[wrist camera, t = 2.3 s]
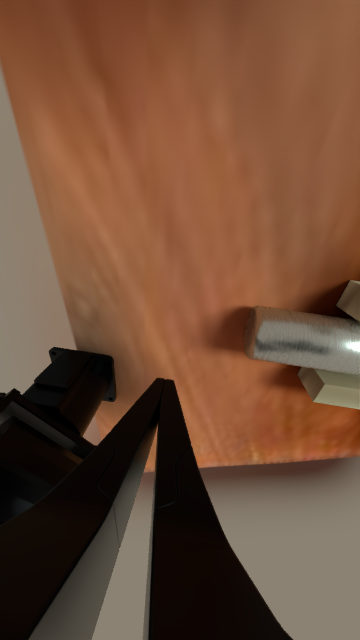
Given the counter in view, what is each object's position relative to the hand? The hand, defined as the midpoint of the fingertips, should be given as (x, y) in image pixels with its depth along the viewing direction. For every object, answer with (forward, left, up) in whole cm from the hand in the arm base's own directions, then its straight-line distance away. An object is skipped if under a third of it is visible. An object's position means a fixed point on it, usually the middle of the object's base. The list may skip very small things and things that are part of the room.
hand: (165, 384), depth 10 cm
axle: (0, -13, -8) cm, 15 cm away
